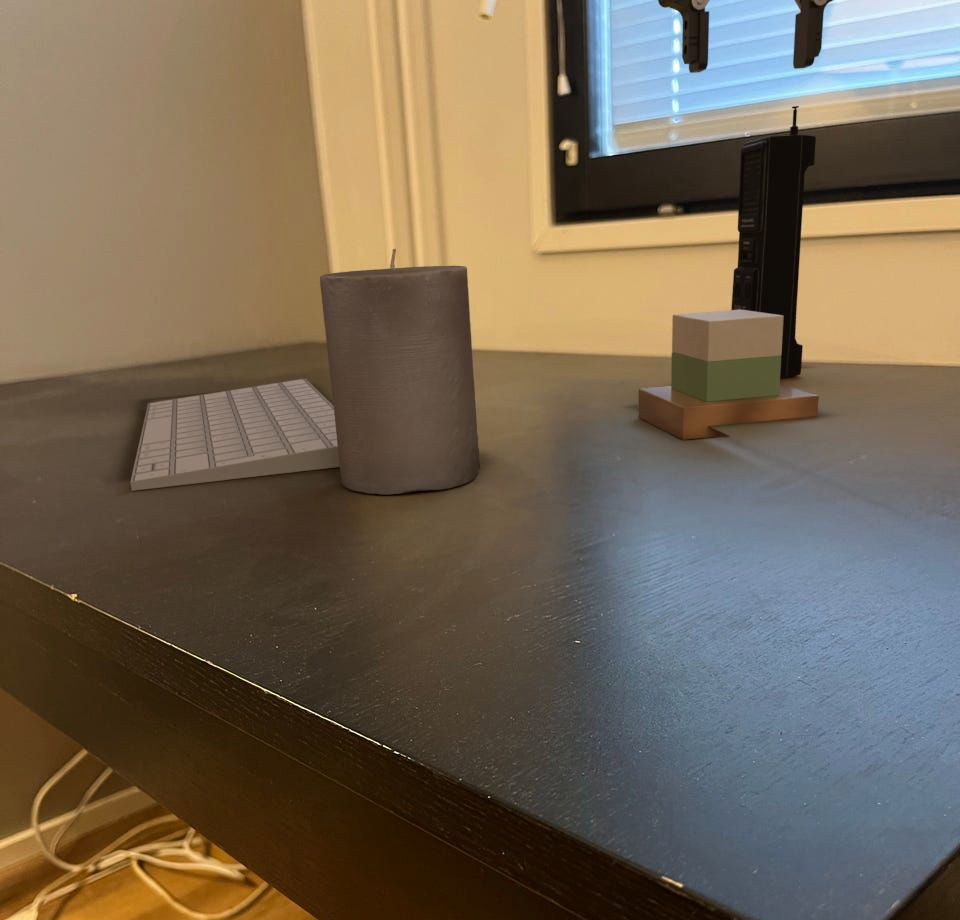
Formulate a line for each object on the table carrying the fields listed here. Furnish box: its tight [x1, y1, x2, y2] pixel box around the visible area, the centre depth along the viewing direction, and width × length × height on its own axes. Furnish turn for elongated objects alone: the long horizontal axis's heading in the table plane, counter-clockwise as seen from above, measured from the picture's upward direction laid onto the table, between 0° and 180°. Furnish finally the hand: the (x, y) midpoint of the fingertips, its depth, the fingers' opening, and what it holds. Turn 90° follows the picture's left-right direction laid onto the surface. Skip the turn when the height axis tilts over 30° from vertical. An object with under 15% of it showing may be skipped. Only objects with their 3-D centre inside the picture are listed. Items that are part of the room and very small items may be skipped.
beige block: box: [671, 309, 784, 362], centre depth 79 cm, size 6×8×3 cm
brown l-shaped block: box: [638, 384, 820, 441], centre depth 81 cm, size 11×11×2 cm
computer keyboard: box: [129, 378, 340, 492], centre depth 91 cm, size 43×19×2 cm, turn 14°
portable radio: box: [730, 105, 817, 379], centre depth 100 cm, size 8×6×25 cm
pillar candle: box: [319, 248, 481, 496], centre depth 66 cm, size 10×10×15 cm
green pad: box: [670, 351, 781, 402], centre depth 80 cm, size 6×8×3 cm
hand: (751, 69), depth 76 cm, fingers open, 8 cm apart
